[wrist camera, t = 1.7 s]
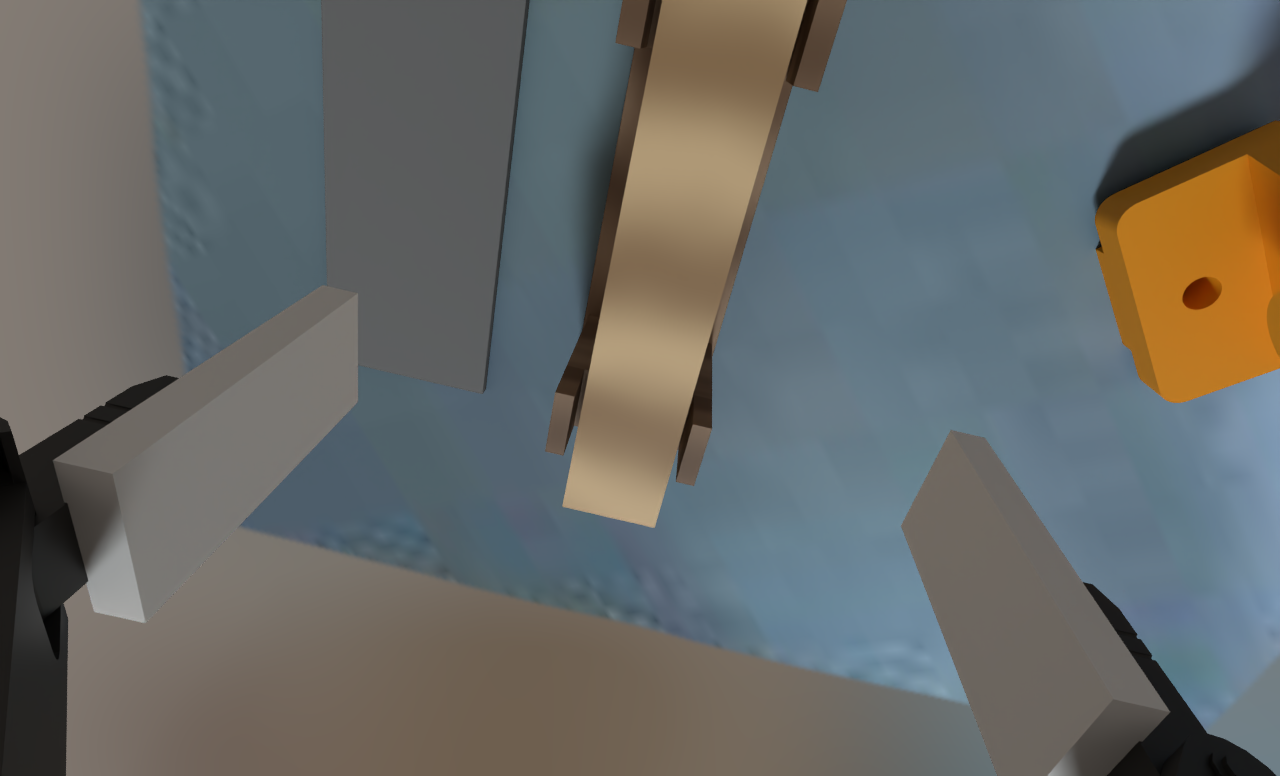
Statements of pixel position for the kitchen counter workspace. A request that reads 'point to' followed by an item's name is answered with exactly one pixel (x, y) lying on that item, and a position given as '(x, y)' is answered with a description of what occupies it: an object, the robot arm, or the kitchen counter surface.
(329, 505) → the kitchen counter surface
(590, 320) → the bracket
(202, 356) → the kitchen counter surface
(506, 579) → the kitchen counter surface
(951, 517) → the robot arm
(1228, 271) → the orange hinge mount
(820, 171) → the kitchen counter surface
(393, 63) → the mat
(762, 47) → the rail
